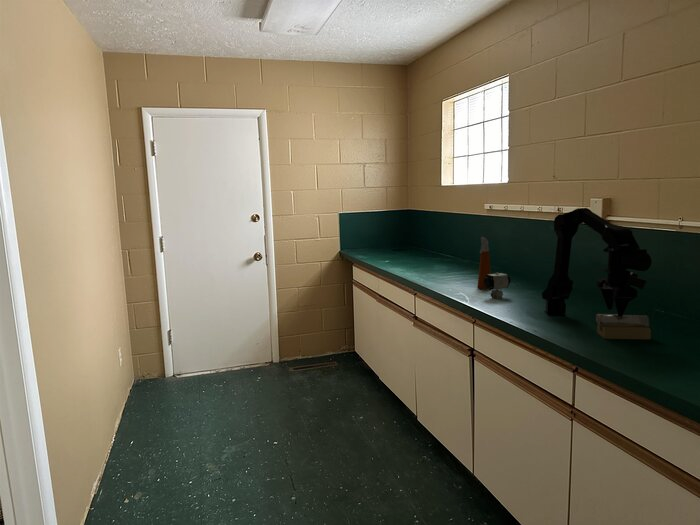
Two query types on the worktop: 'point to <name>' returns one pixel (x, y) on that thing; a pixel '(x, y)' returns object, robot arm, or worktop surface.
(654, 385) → the worktop surface
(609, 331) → the v block
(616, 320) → the axle
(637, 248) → the robot arm
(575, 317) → the worktop surface
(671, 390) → the worktop surface
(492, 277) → the pneumatic valve
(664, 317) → the worktop surface
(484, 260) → the spray bottle
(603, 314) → the bore beam
